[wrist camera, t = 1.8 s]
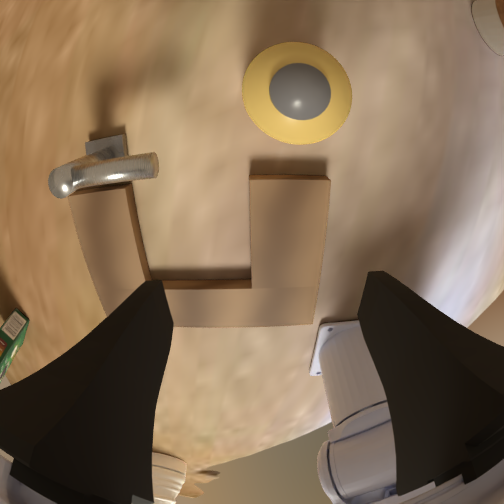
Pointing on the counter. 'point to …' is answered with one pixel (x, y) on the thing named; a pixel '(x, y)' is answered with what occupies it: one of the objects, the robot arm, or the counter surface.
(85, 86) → the counter surface
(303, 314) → the brown u-shaped board
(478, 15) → the coffee cup
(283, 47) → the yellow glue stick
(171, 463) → the honey pot
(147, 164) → the hook arm
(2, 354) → the coffee box
